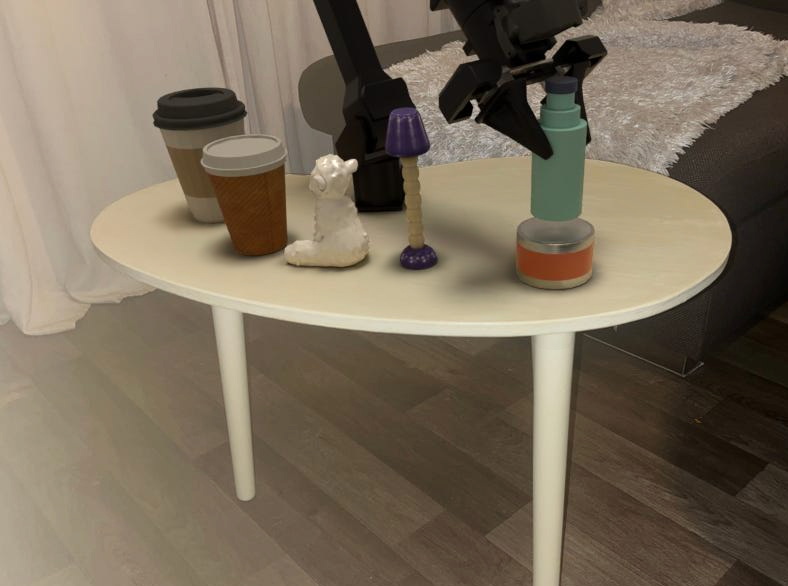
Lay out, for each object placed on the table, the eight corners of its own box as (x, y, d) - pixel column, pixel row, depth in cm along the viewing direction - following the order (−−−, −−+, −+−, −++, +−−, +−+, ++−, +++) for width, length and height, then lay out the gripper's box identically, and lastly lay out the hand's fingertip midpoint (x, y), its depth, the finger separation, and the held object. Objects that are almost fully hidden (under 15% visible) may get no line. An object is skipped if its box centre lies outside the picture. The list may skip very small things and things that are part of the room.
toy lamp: (431, 272, 82) (422, 116, 73) (390, 270, 83) (376, 116, 74) (440, 254, 86) (433, 104, 77) (401, 252, 87) (389, 103, 78)
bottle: (520, 210, 78) (522, 78, 71) (560, 199, 80) (565, 70, 73) (551, 225, 74) (556, 89, 67) (592, 213, 77) (601, 80, 70)
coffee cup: (261, 193, 106) (241, 81, 98) (267, 222, 97) (246, 101, 89) (177, 204, 104) (149, 91, 96) (175, 234, 94) (144, 112, 86)
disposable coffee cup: (220, 235, 94) (199, 138, 87) (298, 225, 95) (282, 129, 89) (220, 266, 86) (196, 162, 79) (304, 255, 87) (288, 152, 81)
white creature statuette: (341, 235, 92) (328, 136, 86) (394, 250, 88) (385, 147, 81) (282, 263, 86) (264, 159, 79) (336, 281, 81) (322, 172, 75)
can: (518, 290, 78) (518, 245, 75) (514, 257, 85) (514, 215, 82) (596, 288, 77) (600, 243, 75) (586, 255, 84) (589, 212, 81)
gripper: (453, -38, 62) (549, 122, 61) (599, -57, 72) (683, 80, 71) (401, 52, 72) (483, 192, 70) (536, 24, 82) (610, 146, 81)
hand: (569, 150), depth 73 cm, fingers closed on bottle, 5 cm apart
